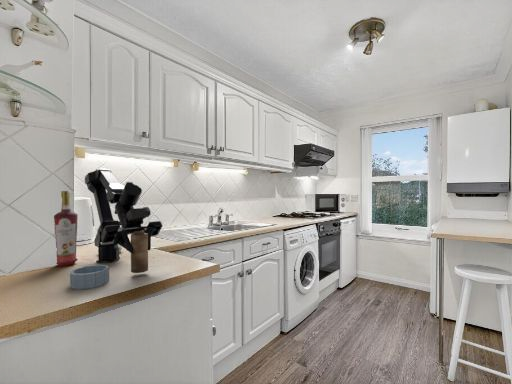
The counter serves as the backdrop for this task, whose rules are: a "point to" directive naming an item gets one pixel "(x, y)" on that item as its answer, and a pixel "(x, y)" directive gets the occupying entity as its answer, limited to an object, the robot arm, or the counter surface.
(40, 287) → the counter surface
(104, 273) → the blue segmented ring
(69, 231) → the liquor
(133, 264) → the pepper mill
